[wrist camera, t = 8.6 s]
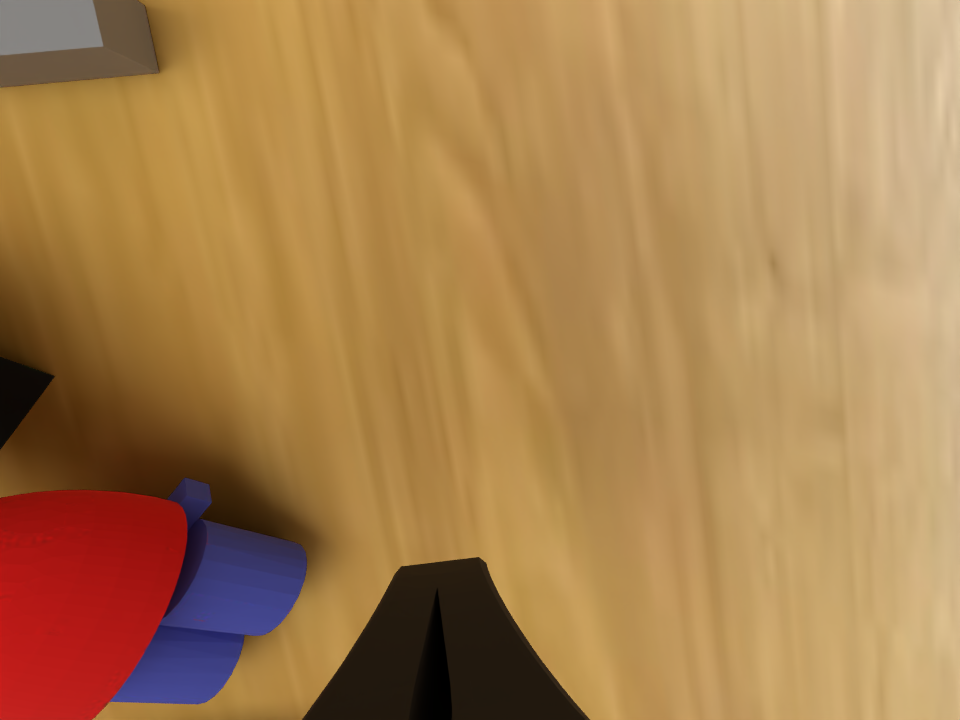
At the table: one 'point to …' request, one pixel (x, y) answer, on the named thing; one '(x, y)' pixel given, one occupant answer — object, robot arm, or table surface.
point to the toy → (125, 590)
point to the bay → (73, 40)
